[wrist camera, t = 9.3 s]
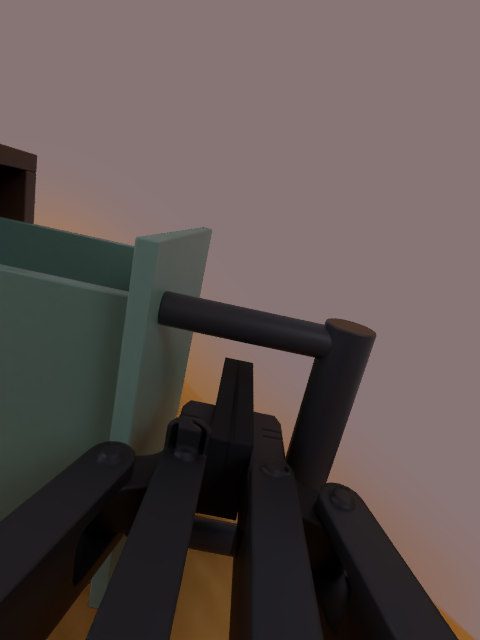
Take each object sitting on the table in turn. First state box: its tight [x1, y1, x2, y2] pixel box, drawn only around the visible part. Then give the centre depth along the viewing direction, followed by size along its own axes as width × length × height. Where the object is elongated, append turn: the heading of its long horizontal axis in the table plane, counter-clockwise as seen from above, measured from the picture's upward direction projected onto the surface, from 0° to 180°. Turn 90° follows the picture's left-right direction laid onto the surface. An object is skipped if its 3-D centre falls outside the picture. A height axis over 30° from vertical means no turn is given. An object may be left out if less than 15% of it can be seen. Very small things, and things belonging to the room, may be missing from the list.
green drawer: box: [0, 217, 376, 609], centre depth 17 cm, size 20×14×13 cm
